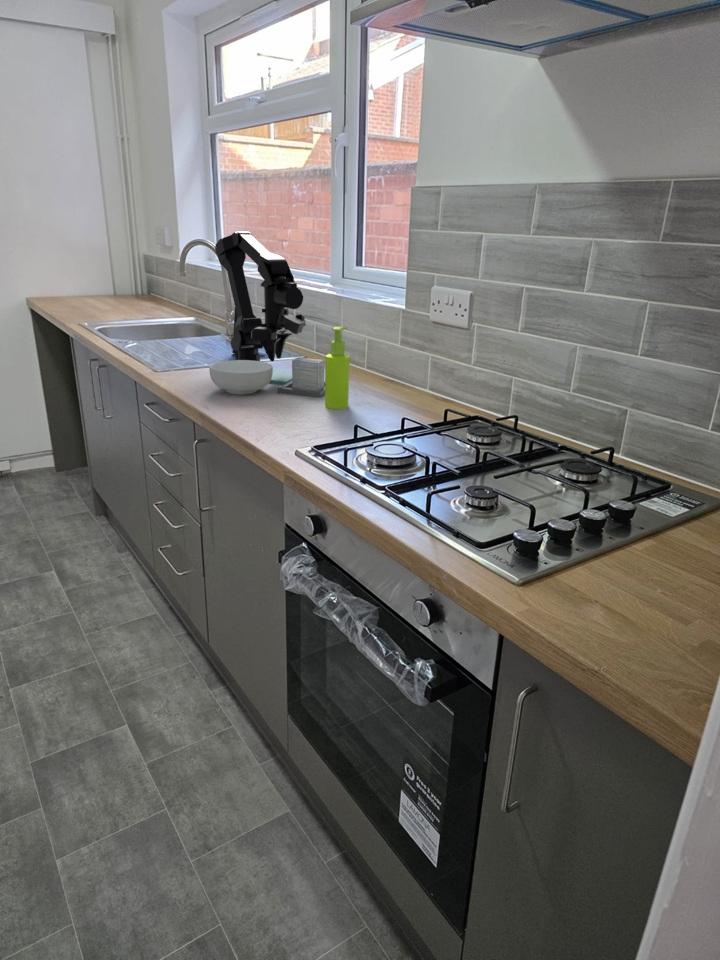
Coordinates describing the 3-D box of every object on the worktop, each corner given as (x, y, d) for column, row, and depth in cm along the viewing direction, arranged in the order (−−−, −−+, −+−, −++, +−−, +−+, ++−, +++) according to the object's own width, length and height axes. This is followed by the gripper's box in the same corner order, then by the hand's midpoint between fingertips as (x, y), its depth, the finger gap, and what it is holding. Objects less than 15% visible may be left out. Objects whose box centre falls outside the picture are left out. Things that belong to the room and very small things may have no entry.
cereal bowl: (285, 392, 177) (285, 366, 175) (236, 402, 166) (235, 375, 163) (247, 380, 188) (246, 356, 185) (198, 390, 176) (196, 364, 174)
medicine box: (324, 390, 180) (324, 359, 177) (318, 394, 176) (318, 362, 173) (298, 387, 182) (298, 356, 179) (291, 391, 179) (291, 359, 175)
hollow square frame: (278, 393, 176) (278, 387, 175) (296, 383, 186) (296, 378, 186) (320, 398, 172) (320, 392, 172) (336, 388, 183) (336, 382, 182)
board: (248, 380, 188) (247, 377, 187) (266, 372, 198) (266, 368, 198) (285, 385, 184) (285, 381, 184) (302, 376, 195) (302, 373, 194)
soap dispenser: (352, 404, 168) (355, 326, 160) (343, 411, 162) (345, 330, 154) (331, 402, 169) (332, 324, 162) (321, 408, 163) (322, 328, 156)
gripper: (286, 310, 173) (287, 368, 179) (313, 303, 189) (313, 356, 195) (249, 307, 176) (251, 364, 182) (279, 300, 192) (279, 353, 198)
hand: (275, 359), depth 189 cm, fingers open, 4 cm apart
